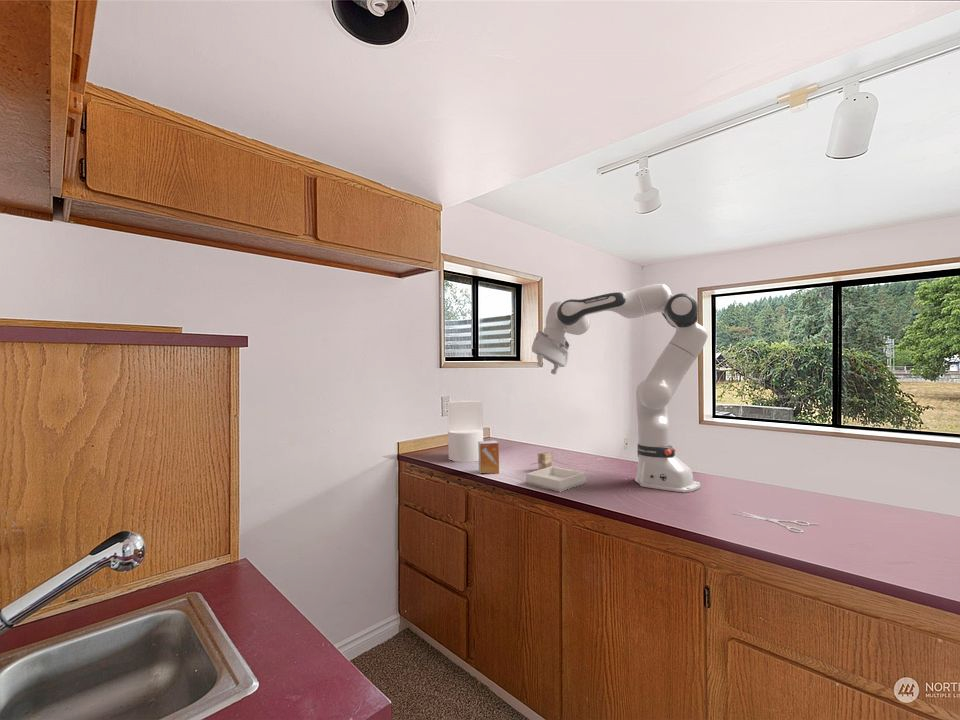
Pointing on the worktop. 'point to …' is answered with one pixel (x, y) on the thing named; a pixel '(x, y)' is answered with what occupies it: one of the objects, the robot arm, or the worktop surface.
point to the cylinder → (464, 429)
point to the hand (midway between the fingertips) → (546, 370)
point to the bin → (555, 478)
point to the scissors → (781, 521)
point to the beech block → (544, 460)
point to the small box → (488, 456)
